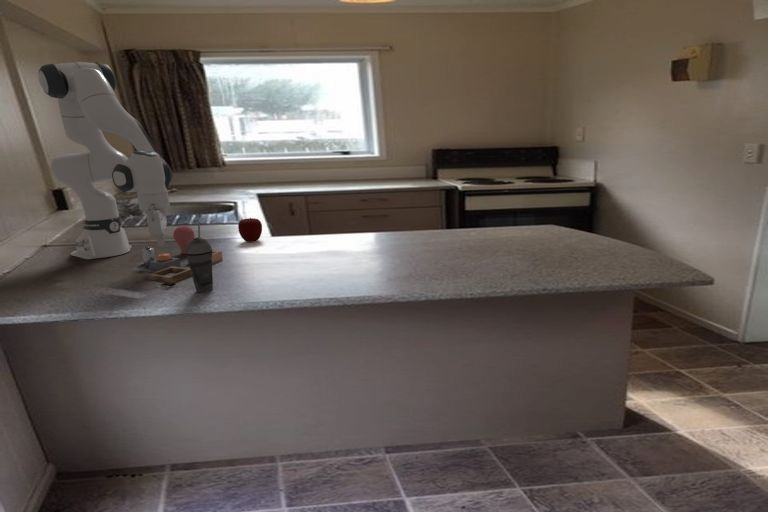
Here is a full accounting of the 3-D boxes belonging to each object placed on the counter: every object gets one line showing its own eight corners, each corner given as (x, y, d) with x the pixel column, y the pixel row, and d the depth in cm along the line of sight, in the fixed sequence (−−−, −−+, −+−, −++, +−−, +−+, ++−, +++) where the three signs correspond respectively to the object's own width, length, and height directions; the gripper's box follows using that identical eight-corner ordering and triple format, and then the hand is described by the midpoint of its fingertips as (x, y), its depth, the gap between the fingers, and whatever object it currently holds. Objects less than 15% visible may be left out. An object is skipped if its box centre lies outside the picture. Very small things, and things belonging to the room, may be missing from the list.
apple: (260, 243, 187) (257, 219, 184) (236, 244, 187) (233, 220, 184) (266, 238, 196) (263, 215, 193) (244, 239, 196) (241, 216, 193)
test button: (156, 262, 151) (155, 255, 150) (165, 259, 154) (164, 253, 153) (164, 263, 149) (163, 256, 149) (173, 260, 152) (172, 253, 152)
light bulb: (190, 259, 167) (185, 227, 164) (173, 259, 168) (167, 227, 165) (201, 254, 174) (196, 223, 170) (184, 254, 175) (179, 223, 172)
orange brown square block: (188, 267, 156) (186, 255, 155) (205, 261, 164) (204, 249, 162) (206, 270, 153) (204, 257, 152) (223, 263, 160) (221, 251, 159)
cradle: (131, 273, 152) (129, 261, 151) (156, 265, 161) (154, 253, 160) (162, 277, 147) (159, 265, 146) (186, 268, 156) (184, 256, 154)
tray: (148, 283, 141) (147, 274, 141) (173, 274, 150) (171, 266, 149) (170, 286, 138) (169, 277, 137) (194, 277, 146) (193, 268, 145)
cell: (142, 267, 154) (139, 248, 152) (151, 264, 157) (148, 245, 155) (150, 268, 153) (146, 249, 151) (159, 265, 156) (155, 246, 154)
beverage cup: (195, 286, 137) (185, 221, 131) (220, 285, 137) (211, 219, 132) (187, 295, 130) (176, 226, 124) (214, 293, 130) (203, 224, 125)
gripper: (162, 205, 138) (169, 249, 141) (167, 198, 156) (173, 237, 160) (138, 207, 135) (147, 252, 139) (146, 200, 154) (153, 240, 157)
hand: (161, 244), depth 149 cm, fingers closed
